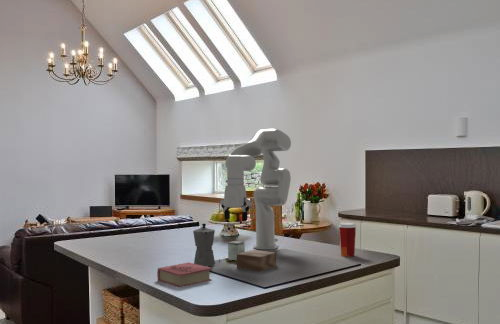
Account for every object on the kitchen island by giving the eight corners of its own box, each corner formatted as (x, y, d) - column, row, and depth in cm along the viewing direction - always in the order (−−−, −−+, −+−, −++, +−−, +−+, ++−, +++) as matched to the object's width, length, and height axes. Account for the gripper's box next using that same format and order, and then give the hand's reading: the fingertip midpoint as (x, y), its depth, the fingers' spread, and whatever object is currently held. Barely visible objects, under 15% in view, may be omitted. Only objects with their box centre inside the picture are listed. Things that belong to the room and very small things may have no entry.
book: (187, 274, 186) (187, 262, 186) (211, 281, 174) (211, 267, 174) (156, 281, 176) (156, 267, 176) (179, 288, 165) (179, 274, 165)
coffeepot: (217, 267, 196) (217, 224, 196) (195, 269, 193) (194, 225, 194) (212, 260, 211) (211, 220, 211) (191, 261, 208) (190, 221, 209)
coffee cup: (357, 254, 221) (357, 222, 221) (355, 257, 213) (355, 224, 213) (339, 253, 224) (339, 222, 224) (337, 256, 216) (336, 224, 216)
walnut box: (253, 263, 205) (253, 249, 205) (276, 266, 198) (276, 252, 198) (236, 268, 195) (236, 254, 195) (260, 272, 188) (260, 257, 188)
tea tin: (235, 258, 216) (234, 240, 216) (244, 259, 213) (244, 241, 213) (228, 260, 211) (228, 242, 211) (238, 261, 208) (237, 243, 208)
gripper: (215, 182, 214) (215, 219, 214) (246, 182, 204) (247, 221, 204) (225, 182, 220) (225, 218, 220) (255, 182, 211) (256, 220, 210)
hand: (235, 219), depth 212 cm, fingers open, 9 cm apart
